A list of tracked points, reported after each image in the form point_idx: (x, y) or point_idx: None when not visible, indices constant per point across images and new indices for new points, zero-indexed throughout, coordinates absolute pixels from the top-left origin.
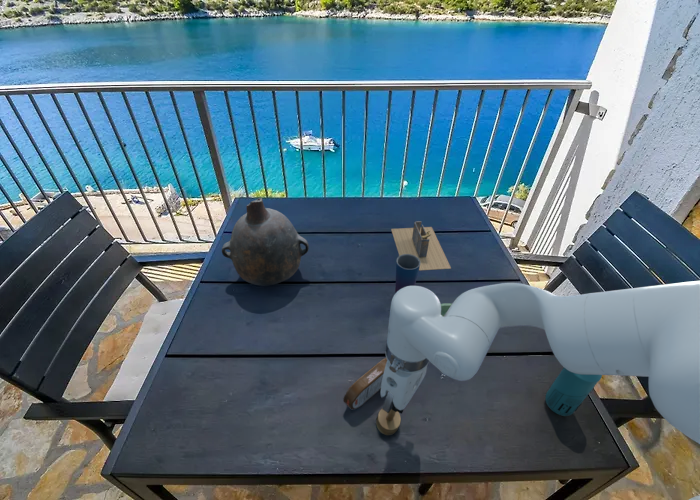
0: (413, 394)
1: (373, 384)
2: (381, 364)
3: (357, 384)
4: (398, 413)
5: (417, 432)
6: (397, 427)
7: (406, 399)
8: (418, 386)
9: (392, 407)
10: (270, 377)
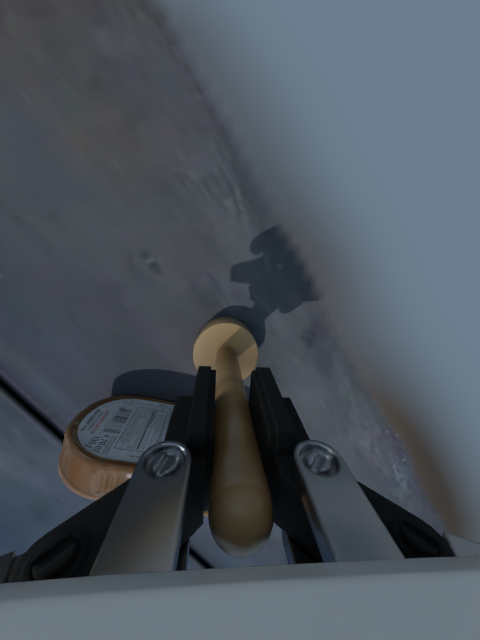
0: (363, 612)
1: None
2: (102, 489)
3: None
4: (199, 340)
5: (199, 269)
6: (235, 323)
7: None
8: (151, 619)
9: (446, 538)
10: (272, 564)
